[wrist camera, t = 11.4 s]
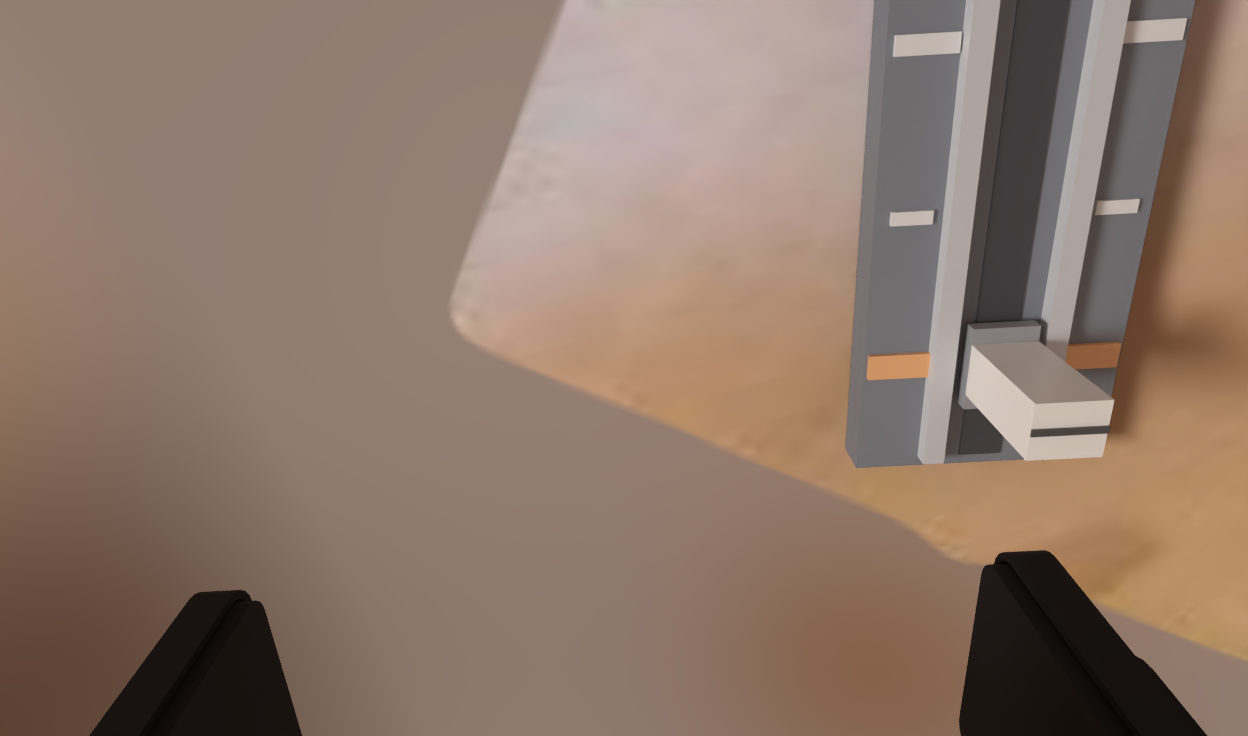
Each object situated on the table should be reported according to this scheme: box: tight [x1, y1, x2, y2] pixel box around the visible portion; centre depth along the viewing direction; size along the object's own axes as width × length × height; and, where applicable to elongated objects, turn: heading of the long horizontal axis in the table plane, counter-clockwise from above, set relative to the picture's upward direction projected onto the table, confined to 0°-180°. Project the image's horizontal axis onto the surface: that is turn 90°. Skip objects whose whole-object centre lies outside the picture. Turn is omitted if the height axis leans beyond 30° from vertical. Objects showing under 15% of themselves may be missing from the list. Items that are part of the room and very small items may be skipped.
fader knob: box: [958, 320, 1114, 461], centre depth 34 cm, size 4×3×7 cm
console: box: [846, 0, 1195, 468], centre depth 36 cm, size 23×12×3 cm, turn 4°
